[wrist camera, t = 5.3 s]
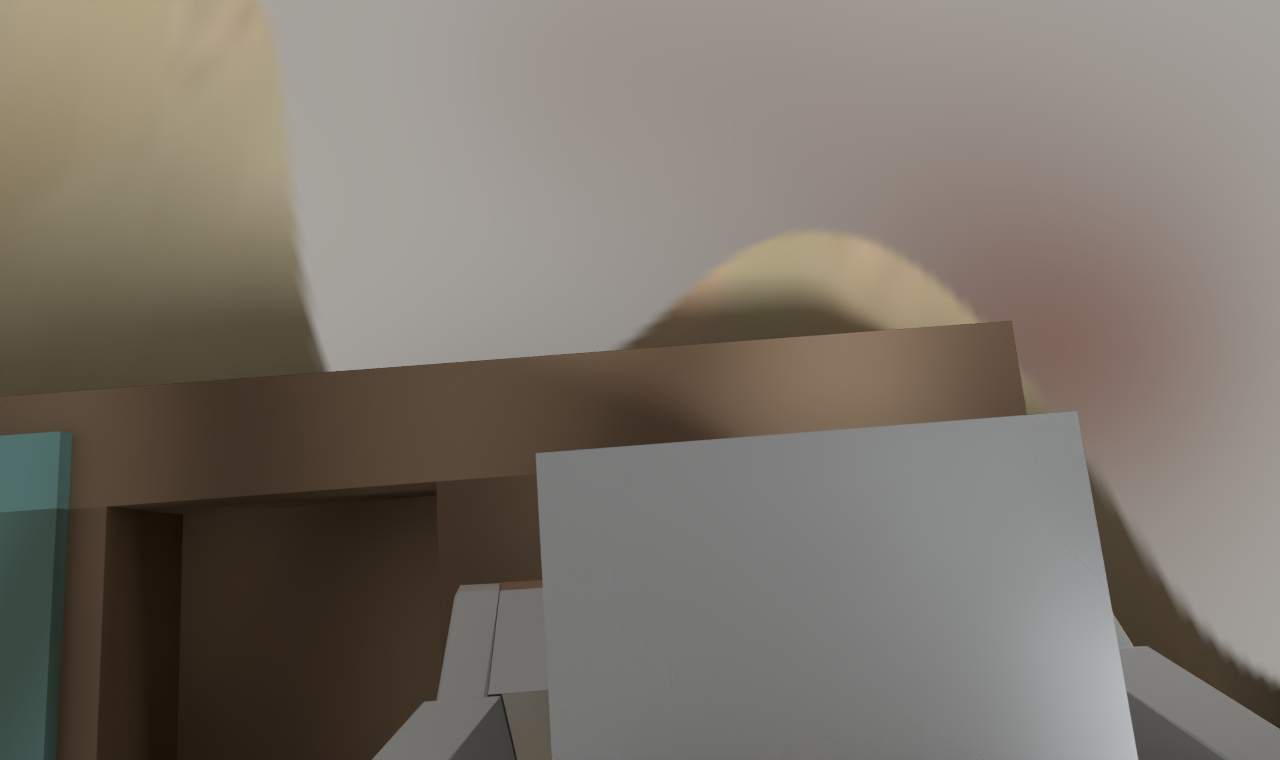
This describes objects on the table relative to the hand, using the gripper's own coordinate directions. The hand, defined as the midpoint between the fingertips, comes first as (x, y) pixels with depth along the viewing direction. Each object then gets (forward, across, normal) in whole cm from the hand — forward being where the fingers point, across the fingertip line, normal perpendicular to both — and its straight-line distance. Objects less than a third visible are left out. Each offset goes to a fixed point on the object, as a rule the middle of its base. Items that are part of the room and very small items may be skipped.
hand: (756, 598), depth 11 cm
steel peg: (+3, 0, +4) cm, 5 cm away
